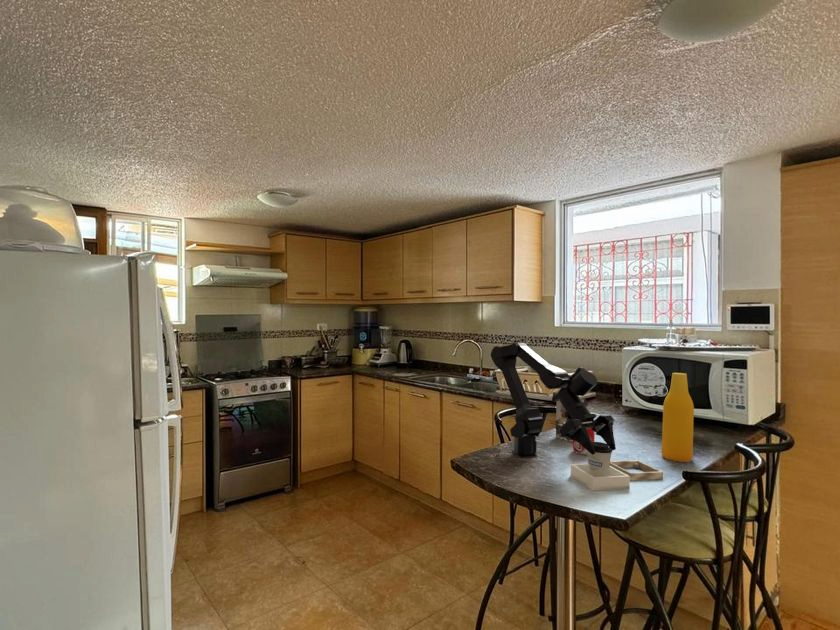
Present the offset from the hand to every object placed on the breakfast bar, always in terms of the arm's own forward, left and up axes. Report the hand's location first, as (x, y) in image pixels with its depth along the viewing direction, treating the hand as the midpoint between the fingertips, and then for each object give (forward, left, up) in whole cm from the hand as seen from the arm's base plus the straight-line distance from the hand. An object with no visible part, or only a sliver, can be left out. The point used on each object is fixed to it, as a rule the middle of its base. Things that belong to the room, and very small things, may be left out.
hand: (604, 451), depth 127 cm
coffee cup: (-1, +1, -8) cm, 9 cm away
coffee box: (+17, +45, -9) cm, 49 cm away
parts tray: (+16, +7, -9) cm, 19 cm away
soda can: (+12, +28, -9) cm, 32 cm away
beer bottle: (+42, +19, -9) cm, 47 cm away
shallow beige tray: (0, +1, -9) cm, 9 cm away
